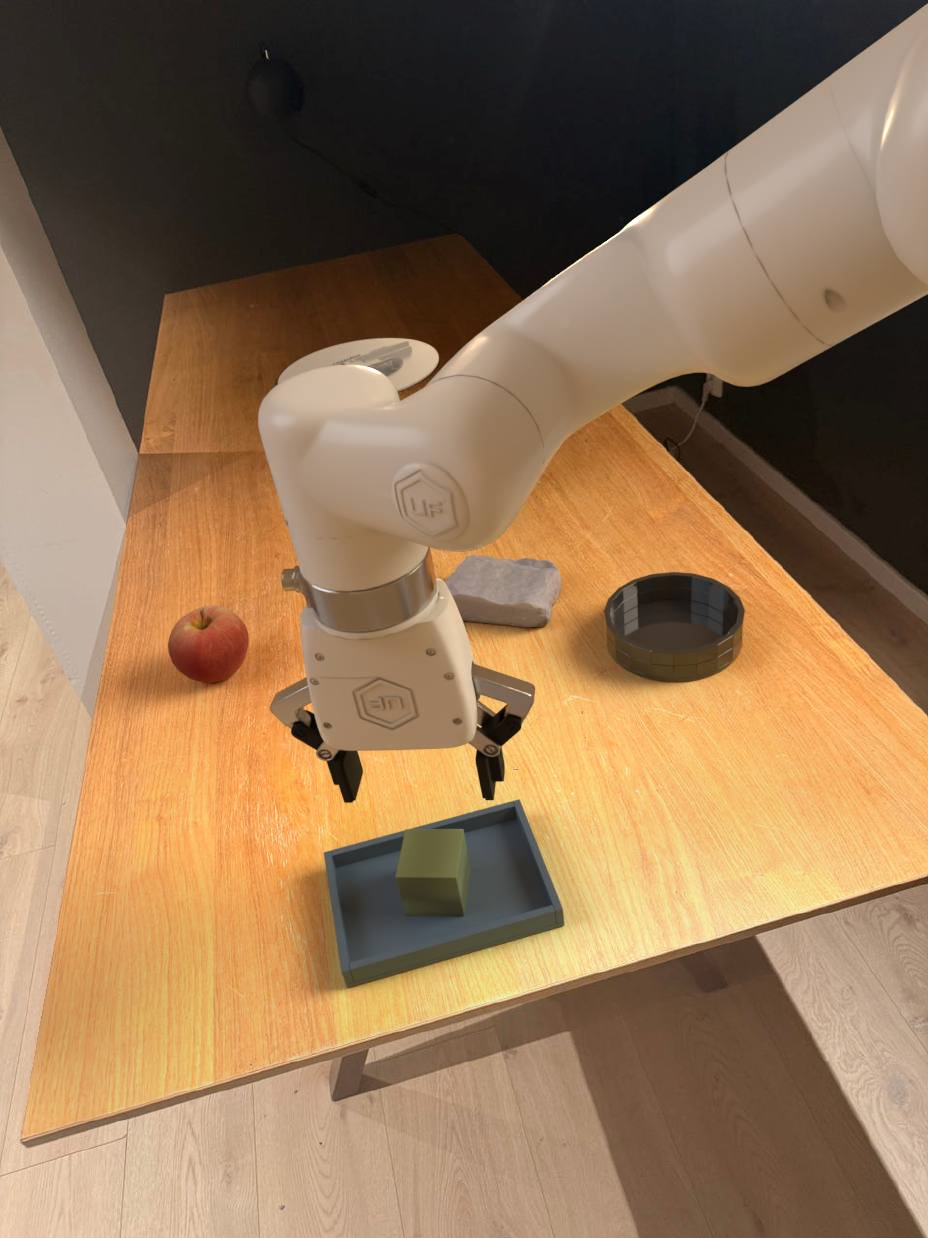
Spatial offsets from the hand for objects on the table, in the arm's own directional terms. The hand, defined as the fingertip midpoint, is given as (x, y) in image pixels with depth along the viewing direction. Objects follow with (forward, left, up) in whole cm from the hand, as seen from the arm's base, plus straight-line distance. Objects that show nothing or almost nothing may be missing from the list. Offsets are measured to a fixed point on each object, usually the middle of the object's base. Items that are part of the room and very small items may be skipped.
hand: (421, 786), depth 65 cm
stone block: (+18, -34, -12) cm, 41 cm away
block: (+1, 0, -12) cm, 12 cm away
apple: (+38, -10, -12) cm, 41 cm away
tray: (0, 0, -12) cm, 12 cm away
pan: (-1, -36, -12) cm, 38 cm away
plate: (+80, -79, -12) cm, 113 cm away
